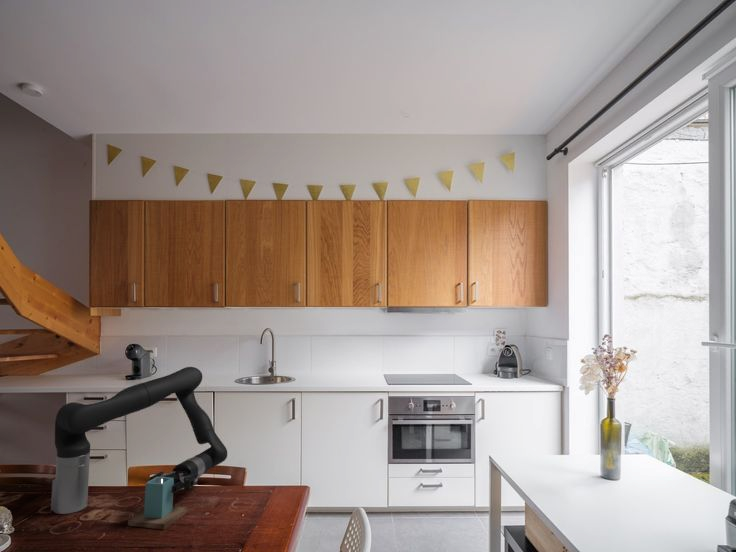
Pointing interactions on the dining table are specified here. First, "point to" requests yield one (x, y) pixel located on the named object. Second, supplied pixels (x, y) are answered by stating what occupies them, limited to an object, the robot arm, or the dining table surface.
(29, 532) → the dining table surface
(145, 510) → the teal sleeve
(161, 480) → the steel post
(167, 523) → the walnut base plate
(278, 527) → the dining table surface
